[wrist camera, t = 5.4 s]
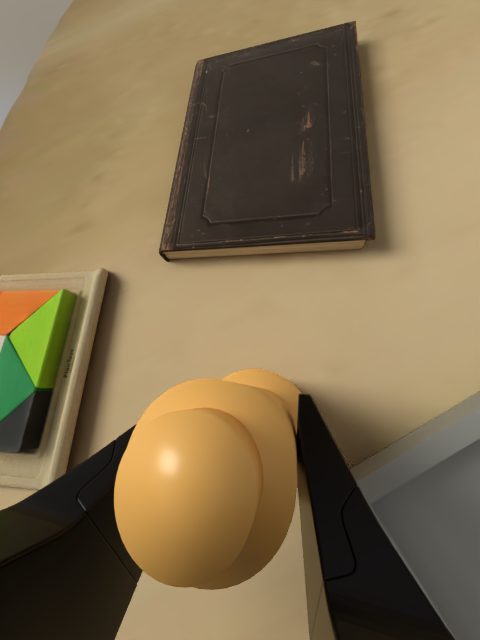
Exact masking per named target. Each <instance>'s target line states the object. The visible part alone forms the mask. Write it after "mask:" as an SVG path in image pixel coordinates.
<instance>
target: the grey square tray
mask: <svg viewBox="0 0 480 640" xmlns="http://www.w3.org/2000/svg"><path fill="white" fill-rule="evenodd" d="M350 471H351V473H352V474H353V476H354V478H355V480H356V482H357V486H359V487H360V489H361V491H362V493H363V495H364V497H365V499H366V501H367V502H368V504H369V506H370V508H371V510H372V511H373V513H374V515H375V517H376V518H377V520H378V522H379V524H380V525H381V527H382V528H383V530H384V532H385V533H386V535H387V536H388V538H389V540H390V541H391V543H392V544H393V546H394V548H395V549H396V551H397V552H398V554H399V555H400V557H401V558H402V560H403V561H404V563H405V565H406V566H407V568H408V569H409V571H410V572H411V574H412V575H413V577H414V578H415V580H416V581H417V583H418V584H419V586H420V588H421V589H422V591H423V592H424V594H425V595H426V597H427V598H428V600H429V601H430V603H431V604H432V606H433V608H434V609H435V611H436V612H437V614H438V615H439V617H440V618H441V620H442V621H443V623H444V624H445V626H446V627H447V628H448V630H449V631H450V633H451V634H452V635H453V637H454V638H455V639H456V640H480V391H479V392H478V393H476V394H474V395H473V396H471V397H469V398H468V399H466V400H464V401H463V402H461V403H459V404H458V405H456V406H454V407H453V408H451V409H449V410H448V411H446V412H445V413H443V414H441V415H440V416H438V417H436V418H435V419H433V420H431V421H430V422H428V423H426V424H425V425H423V426H421V427H420V428H418V429H416V430H415V431H413V432H411V433H410V434H408V435H406V436H405V437H403V438H401V439H400V440H398V441H396V442H395V443H393V444H391V445H390V446H388V447H386V448H385V449H383V450H381V451H380V452H378V453H376V454H375V455H373V456H371V457H370V458H368V459H366V460H365V461H363V462H361V463H360V464H358V465H357V466H355V467H353V468H352V469H350Z"/></svg>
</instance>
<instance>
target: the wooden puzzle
mask: <svg viewBox="0 0 480 640" xmlns="http://www.w3.org/2000/svg"><path fill="white" fill-rule="evenodd" d="M107 277H108V271H107V270H105V269H103V268H100V269H98V270H94V271H76V272H58V273H38V274H16V275H0V486H8V487H17V488H25V489H34V490H40V489H42V488H43V487H45V486H47V485H48V484H50V483H51V482H53V481H54V480H56V479H58V478H59V477H61V476H62V475H64V474H65V473H66V470H67V465H68V460H69V455H70V450H71V445H72V441H73V436H74V431H75V427H76V422H77V417H78V412H79V408H80V403H81V398H82V393H83V389H84V384H85V379H86V375H87V370H88V365H89V361H90V356H91V351H92V347H93V342H94V337H95V333H96V328H97V324H98V319H99V314H100V310H101V305H102V301H103V296H104V291H105V286H106V282H107Z"/></svg>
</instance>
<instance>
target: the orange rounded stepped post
mask: <svg viewBox="0 0 480 640" xmlns="http://www.w3.org/2000/svg"><path fill="white" fill-rule="evenodd" d="M300 393H301V392H300V391H299V389H298V388H297V387H296V386H295V385H294V384H292V383H291V382H290V381H289V380H287V379H286V378H284V377H282V376H281V375H278V374H276V373H274V372H271V371H267V370H262V369H247V370H241V371H238V372H235V373H232V374H230V375H228V376H227V377H225V378H223V379H222V380H219V379H206V378H205V379H195V380H191V381H187V382H184V383H182V384H179V385H177V386H175V387H173V388H171V389H169V390H168V391H166V392H165V393H163V394H162V395H161V396H159V397H158V398H157V399H156V400H155V401H154V402H153V403H152V404H151V405H150V406H149V407H148V408H147V410H146V411H145V412H144V413H143V415H142V416H141V418H140V420H139V421H138V423H137V425H136V427H135V429H134V431H133V433H132V435H131V438H130V440H129V443H128V446H127V448H126V450H125V452H124V454H123V457H122V459H121V462H120V464H119V468H118V471H117V475H116V481H115V488H114V510H115V517H116V522H117V526H118V530H119V533H120V536H121V539H122V541H123V543H124V545H125V547H126V549H127V551H128V553H129V554H130V556H131V557H132V559H133V560H134V561H135V563H136V564H137V565H138V566H139V567H140V568H141V569H142V570H143V571H144V572H145V573H146V574H148V575H149V576H151V577H152V578H154V579H155V580H157V581H159V582H162V583H164V584H166V585H170V586H174V587H195V588H199V589H210V590H214V589H223V588H228V587H231V586H234V585H238V584H240V583H242V582H244V581H246V580H248V579H250V578H251V577H253V576H254V575H255V574H257V573H258V572H259V571H261V570H262V569H263V568H264V567H265V566H266V565H267V564H268V563H269V562H270V561H271V559H272V558H273V557H274V555H275V554H276V552H277V551H278V550H279V548H280V546H281V544H282V542H283V541H284V539H285V537H286V535H287V532H288V529H289V526H290V524H291V521H292V516H293V512H294V508H295V499H296V488H297V487H298V480H297V415H298V395H299V394H300Z"/></svg>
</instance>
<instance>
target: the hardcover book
mask: <svg viewBox="0 0 480 640" xmlns="http://www.w3.org/2000/svg"><path fill="white" fill-rule="evenodd" d="M374 239H375V228H374V217H373V206H372V195H371V184H370V173H369V162H368V151H367V140H366V129H365V118H364V107H363V96H362V85H361V75H360V64H359V53H358V42H357V31H356V21H352V22H348V23H344V24H340V25H337V26H333V27H329V28H325V29H321V30H317V31H313V32H309V33H305V34H301V35H297V36H293V37H289V38H285V39H281V40H277V41H273V42H269V43H265V44H261V45H257V46H254V47H250V48H246V49H242V50H238V51H234V52H230V53H226V54H222V55H218V56H214V57H210V58H206V59H202V60H199V61H198V62H197V64H196V67H195V72H194V77H193V82H192V87H191V92H190V97H189V102H188V107H187V112H186V117H185V123H184V128H183V133H182V138H181V143H180V148H179V153H178V158H177V163H176V168H175V173H174V178H173V183H172V188H171V193H170V198H169V203H168V208H167V214H166V219H165V224H164V229H163V234H162V239H161V244H160V249H159V254H160V255H161V256H162V257H163V258H164V259H165V260H166V261H167V262H169V259H176V258H195V257H214V256H233V255H251V254H270V253H289V252H308V251H327V250H346V249H362V247H363V245H364V244H365V240H374Z"/></svg>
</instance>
